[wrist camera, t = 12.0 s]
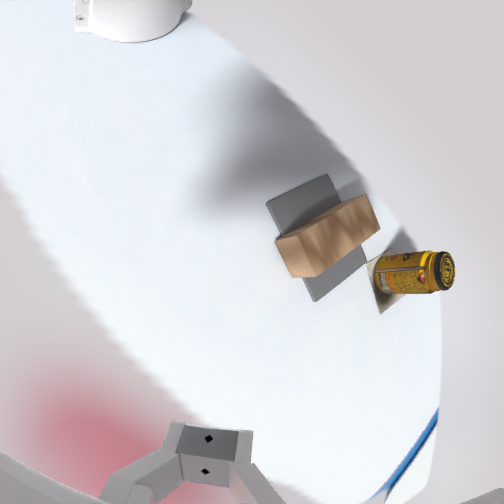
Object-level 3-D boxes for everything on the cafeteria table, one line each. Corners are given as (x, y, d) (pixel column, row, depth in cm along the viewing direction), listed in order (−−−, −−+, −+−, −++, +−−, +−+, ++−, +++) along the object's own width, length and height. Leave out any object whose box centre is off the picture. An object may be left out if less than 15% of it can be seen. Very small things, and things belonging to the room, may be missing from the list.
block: (296, 235, 33) (367, 193, 38) (274, 241, 38) (342, 201, 43) (316, 276, 34) (382, 227, 39) (292, 277, 38) (357, 232, 43)
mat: (265, 203, 38) (267, 202, 38) (324, 175, 43) (327, 173, 42) (313, 301, 40) (316, 301, 39) (364, 261, 44) (367, 261, 44)
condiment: (391, 247, 47) (452, 238, 37) (404, 294, 48) (463, 294, 37) (364, 263, 44) (429, 256, 34) (378, 314, 45) (442, 318, 34)
